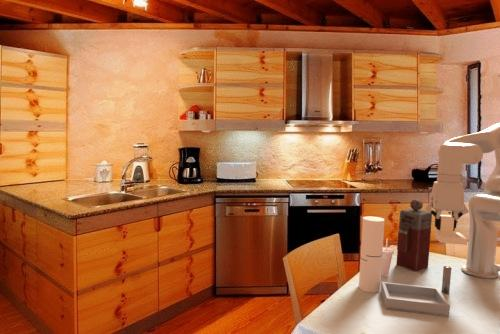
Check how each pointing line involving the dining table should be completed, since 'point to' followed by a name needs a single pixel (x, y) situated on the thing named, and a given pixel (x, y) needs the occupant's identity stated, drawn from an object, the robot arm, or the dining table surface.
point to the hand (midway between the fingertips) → (445, 229)
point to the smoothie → (386, 259)
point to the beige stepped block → (449, 232)
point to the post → (446, 279)
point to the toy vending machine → (414, 237)
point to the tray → (414, 299)
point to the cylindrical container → (371, 253)
